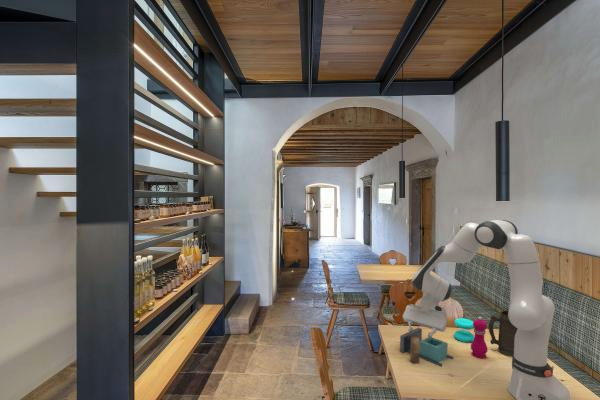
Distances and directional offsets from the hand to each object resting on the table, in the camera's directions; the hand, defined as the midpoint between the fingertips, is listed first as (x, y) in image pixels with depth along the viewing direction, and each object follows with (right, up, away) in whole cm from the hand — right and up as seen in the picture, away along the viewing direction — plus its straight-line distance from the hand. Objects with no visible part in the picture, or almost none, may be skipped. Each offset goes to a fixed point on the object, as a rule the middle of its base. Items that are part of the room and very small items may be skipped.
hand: (419, 334), depth 167 cm
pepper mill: (+30, -13, +3) cm, 33 cm away
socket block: (+7, -11, +1) cm, 13 cm away
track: (+5, -12, +3) cm, 14 cm away
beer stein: (+46, -13, +9) cm, 48 cm away
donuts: (+32, -12, +24) cm, 42 cm away
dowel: (-3, -12, -4) cm, 13 cm away
